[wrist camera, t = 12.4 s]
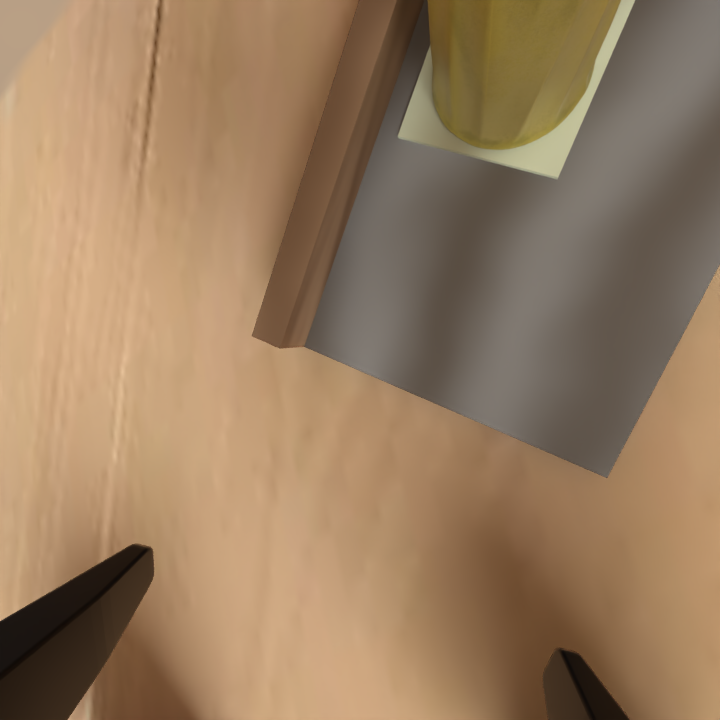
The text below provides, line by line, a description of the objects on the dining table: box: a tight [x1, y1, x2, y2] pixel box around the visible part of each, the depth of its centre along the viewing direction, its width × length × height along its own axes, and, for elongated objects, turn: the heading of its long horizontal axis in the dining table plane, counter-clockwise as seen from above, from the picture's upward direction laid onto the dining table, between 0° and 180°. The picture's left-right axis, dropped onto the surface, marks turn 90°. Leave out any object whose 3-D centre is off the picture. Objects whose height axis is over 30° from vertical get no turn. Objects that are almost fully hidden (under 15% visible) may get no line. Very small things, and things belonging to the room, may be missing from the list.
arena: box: [252, 0, 720, 478], centre depth 15 cm, size 16×20×4 cm
